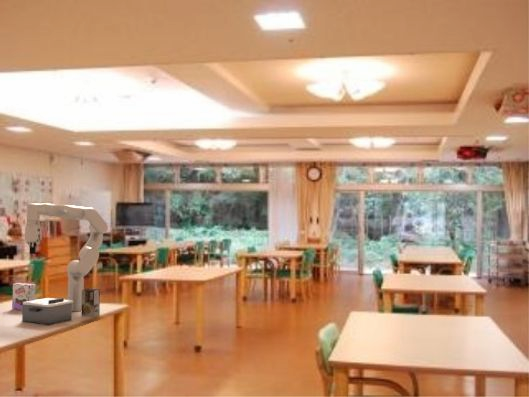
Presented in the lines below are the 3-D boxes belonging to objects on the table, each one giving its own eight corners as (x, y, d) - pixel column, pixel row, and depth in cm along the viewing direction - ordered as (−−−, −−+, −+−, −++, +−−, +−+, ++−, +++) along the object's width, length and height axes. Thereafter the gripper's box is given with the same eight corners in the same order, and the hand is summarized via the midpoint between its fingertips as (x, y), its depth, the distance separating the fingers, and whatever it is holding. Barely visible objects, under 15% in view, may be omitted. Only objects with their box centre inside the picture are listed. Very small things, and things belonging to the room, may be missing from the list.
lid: (47, 299, 363) (47, 295, 363) (73, 302, 354) (73, 297, 354) (22, 304, 346) (22, 299, 346) (49, 307, 337) (49, 302, 337)
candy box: (11, 309, 387) (12, 283, 387) (18, 308, 393) (19, 282, 393) (28, 311, 382) (29, 284, 382) (35, 309, 387) (35, 283, 388)
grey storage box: (48, 316, 364) (48, 299, 364) (74, 319, 356) (74, 302, 356) (19, 322, 344) (19, 305, 345) (45, 326, 336) (46, 308, 336)
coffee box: (100, 315, 370) (100, 289, 370) (93, 317, 364) (94, 290, 364) (87, 314, 373) (87, 288, 373) (80, 316, 367) (81, 289, 367)
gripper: (46, 223, 373) (46, 253, 372) (28, 223, 379) (28, 252, 379) (37, 223, 366) (36, 254, 365) (19, 223, 372) (18, 253, 372)
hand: (32, 253), depth 372 cm, fingers closed
